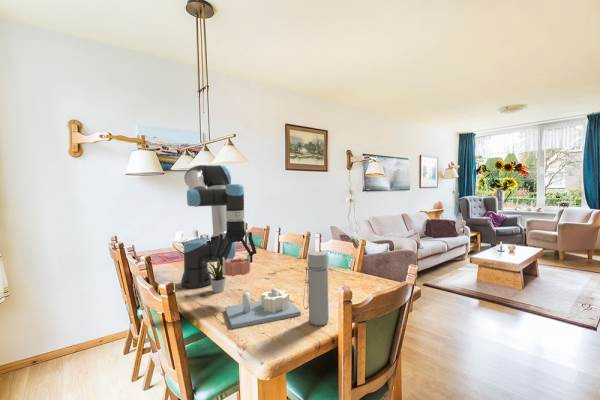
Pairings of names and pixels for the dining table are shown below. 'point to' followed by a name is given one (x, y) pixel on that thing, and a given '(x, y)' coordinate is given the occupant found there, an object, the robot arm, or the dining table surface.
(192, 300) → the dining table surface
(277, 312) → the board
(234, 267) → the gear
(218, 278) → the house plant
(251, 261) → the robot arm
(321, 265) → the water bottle
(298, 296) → the dining table surface
